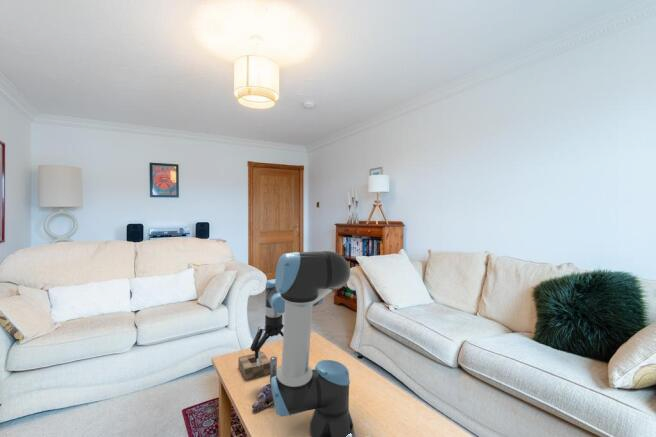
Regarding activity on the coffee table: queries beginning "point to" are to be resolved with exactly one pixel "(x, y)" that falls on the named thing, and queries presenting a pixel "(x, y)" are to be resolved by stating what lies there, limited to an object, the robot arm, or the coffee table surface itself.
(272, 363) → the pin
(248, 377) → the socket block
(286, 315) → the robot arm
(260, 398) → the purple lumpy piece
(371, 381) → the coffee table surface
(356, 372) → the coffee table surface
